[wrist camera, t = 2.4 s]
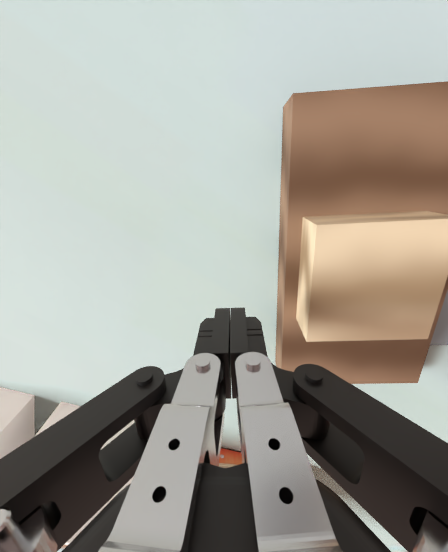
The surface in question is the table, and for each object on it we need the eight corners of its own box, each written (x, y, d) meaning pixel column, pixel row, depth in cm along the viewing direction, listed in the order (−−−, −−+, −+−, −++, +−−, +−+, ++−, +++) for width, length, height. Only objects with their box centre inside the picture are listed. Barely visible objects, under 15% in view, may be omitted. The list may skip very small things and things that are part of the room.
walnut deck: (283, 107, 17) (293, 93, 14) (467, 93, 16) (516, 76, 13) (275, 361, 25) (280, 384, 22) (396, 359, 24) (417, 382, 22)
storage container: (153, 421, 29) (111, 551, 19) (139, 474, 34) (98, 604, 23) (-63, 370, 28) (-237, 483, 17) (-51, 432, 32) (-185, 554, 21)
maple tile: (302, 216, 17) (316, 225, 14) (425, 210, 16) (465, 217, 13) (296, 318, 20) (306, 341, 17) (399, 315, 19) (427, 338, 16)
